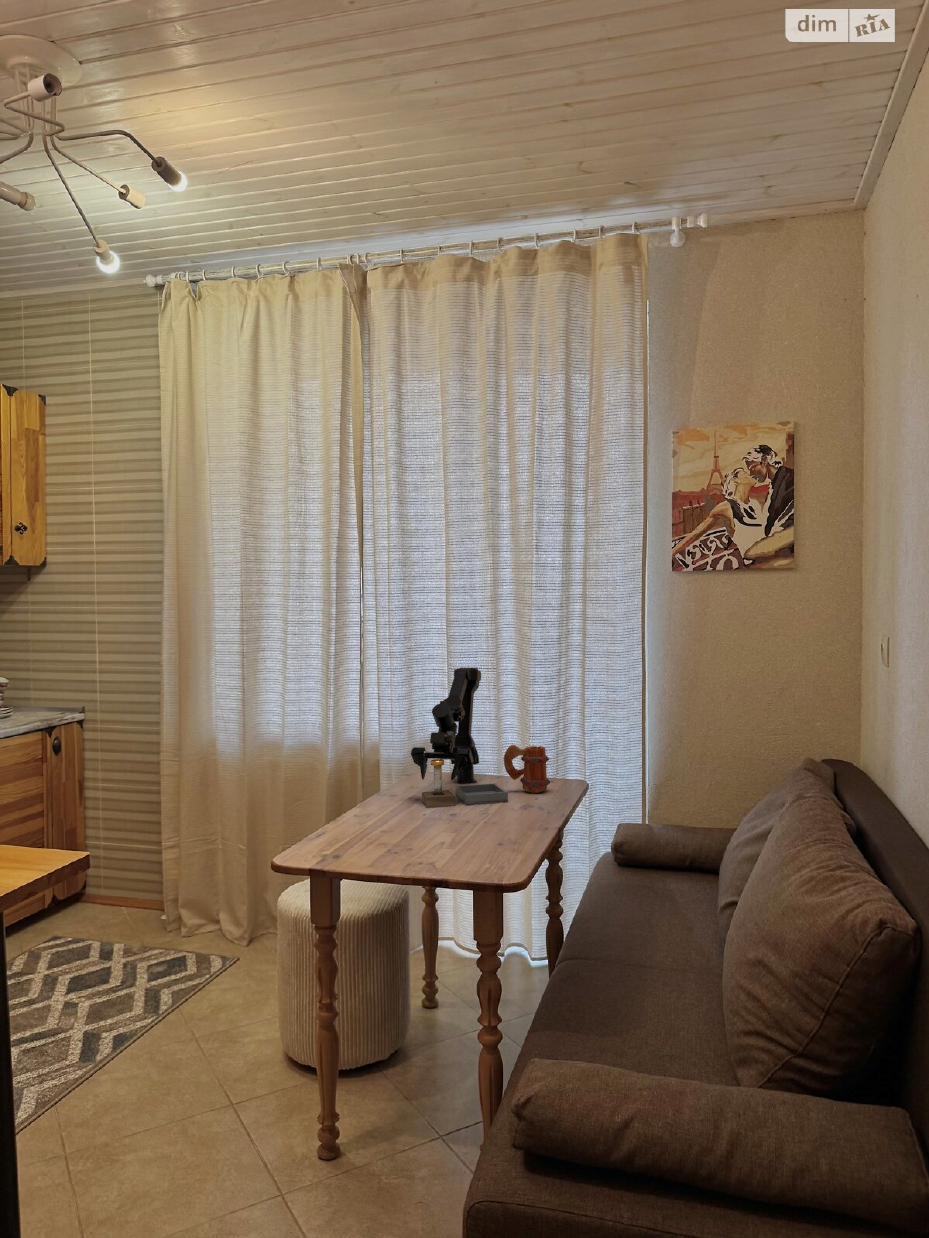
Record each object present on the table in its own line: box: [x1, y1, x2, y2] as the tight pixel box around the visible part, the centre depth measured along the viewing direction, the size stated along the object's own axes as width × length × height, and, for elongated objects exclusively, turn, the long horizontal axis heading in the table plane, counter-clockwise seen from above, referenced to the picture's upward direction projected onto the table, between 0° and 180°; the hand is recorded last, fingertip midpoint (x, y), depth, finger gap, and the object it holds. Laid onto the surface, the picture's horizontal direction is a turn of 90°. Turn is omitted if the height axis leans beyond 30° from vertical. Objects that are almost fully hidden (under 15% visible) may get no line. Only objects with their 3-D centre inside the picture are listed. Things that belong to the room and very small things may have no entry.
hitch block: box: [421, 789, 456, 809], centre depth 277 cm, size 8×8×3 cm
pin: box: [430, 759, 445, 795], centre depth 276 cm, size 4×4×13 cm
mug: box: [503, 744, 551, 794], centre depth 290 cm, size 15×8×15 cm, turn 84°
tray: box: [455, 783, 509, 806], centre depth 282 cm, size 14×13×3 cm
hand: (437, 779), depth 276 cm, fingers open, 9 cm apart
